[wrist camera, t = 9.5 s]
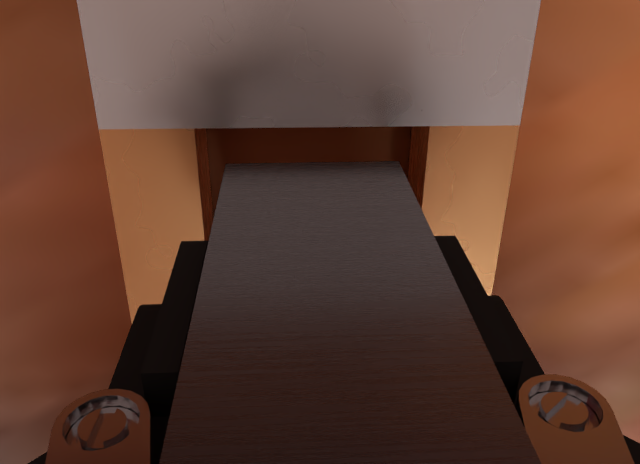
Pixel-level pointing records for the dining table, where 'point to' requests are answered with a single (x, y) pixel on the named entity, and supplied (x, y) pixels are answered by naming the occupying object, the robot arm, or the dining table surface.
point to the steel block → (333, 332)
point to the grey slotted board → (303, 105)
